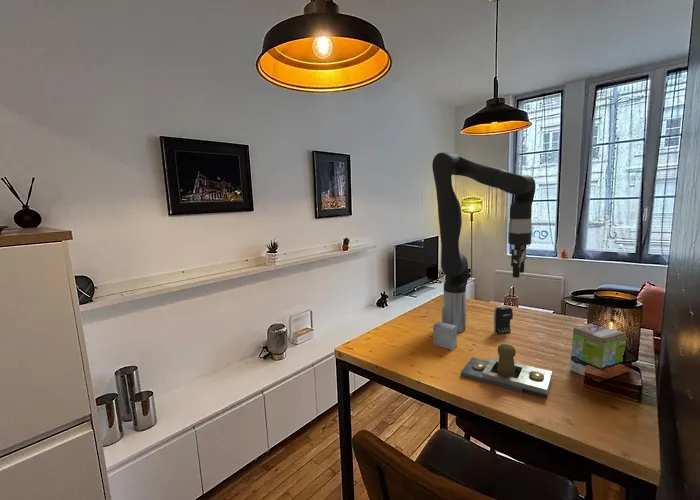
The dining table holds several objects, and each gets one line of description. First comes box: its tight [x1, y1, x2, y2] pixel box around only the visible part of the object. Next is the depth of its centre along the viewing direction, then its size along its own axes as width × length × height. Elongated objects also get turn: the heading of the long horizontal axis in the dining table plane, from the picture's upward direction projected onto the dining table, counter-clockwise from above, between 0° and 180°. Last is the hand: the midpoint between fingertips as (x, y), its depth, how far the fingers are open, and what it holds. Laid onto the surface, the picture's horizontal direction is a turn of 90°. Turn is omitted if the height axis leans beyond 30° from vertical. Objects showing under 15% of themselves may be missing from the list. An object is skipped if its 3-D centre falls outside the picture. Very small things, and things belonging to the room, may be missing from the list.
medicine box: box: [432, 321, 458, 351], centre depth 135 cm, size 8×4×9 cm, turn 47°
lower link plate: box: [460, 356, 524, 394], centre depth 112 cm, size 18×12×2 cm, turn 54°
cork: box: [495, 343, 517, 378], centre depth 110 cm, size 6×6×11 cm
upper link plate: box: [482, 357, 553, 398], centre depth 108 cm, size 18×12×4 cm
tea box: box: [569, 323, 627, 376], centre depth 111 cm, size 15×10×15 cm, turn 114°
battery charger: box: [493, 305, 514, 335], centre depth 144 cm, size 7×4×11 cm, turn 103°
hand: (518, 274), depth 128 cm, fingers open, 8 cm apart
